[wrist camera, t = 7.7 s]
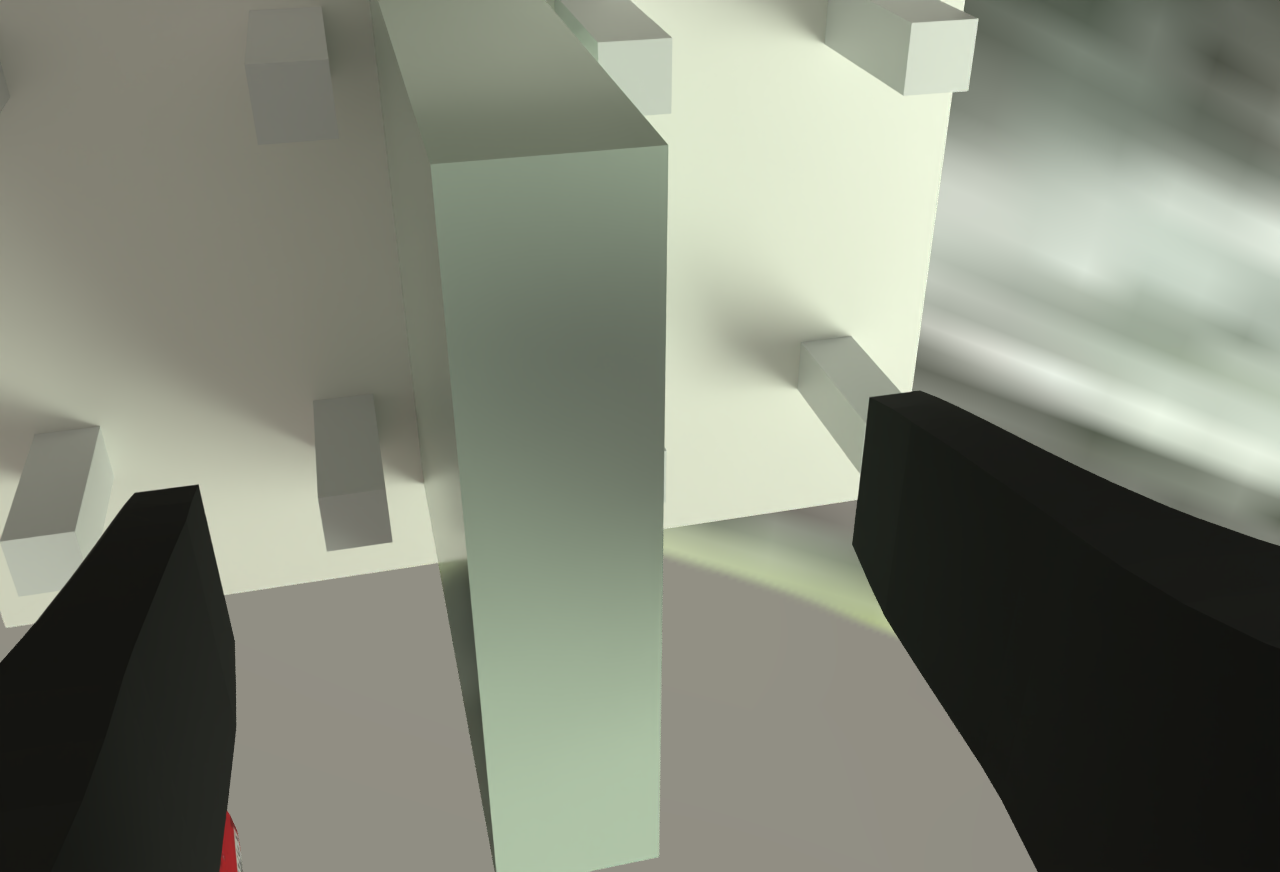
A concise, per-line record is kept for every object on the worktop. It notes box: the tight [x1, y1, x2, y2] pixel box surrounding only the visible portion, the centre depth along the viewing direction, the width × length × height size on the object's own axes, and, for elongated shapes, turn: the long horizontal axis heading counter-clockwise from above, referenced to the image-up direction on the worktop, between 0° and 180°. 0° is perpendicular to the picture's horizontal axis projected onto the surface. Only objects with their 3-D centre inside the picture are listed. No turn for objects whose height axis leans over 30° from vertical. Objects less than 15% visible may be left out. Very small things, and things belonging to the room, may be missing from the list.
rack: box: [0, 0, 978, 628], centre depth 19 cm, size 17×13×4 cm
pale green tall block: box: [369, 0, 668, 872], centre depth 16 cm, size 2×9×9 cm, turn 0°
